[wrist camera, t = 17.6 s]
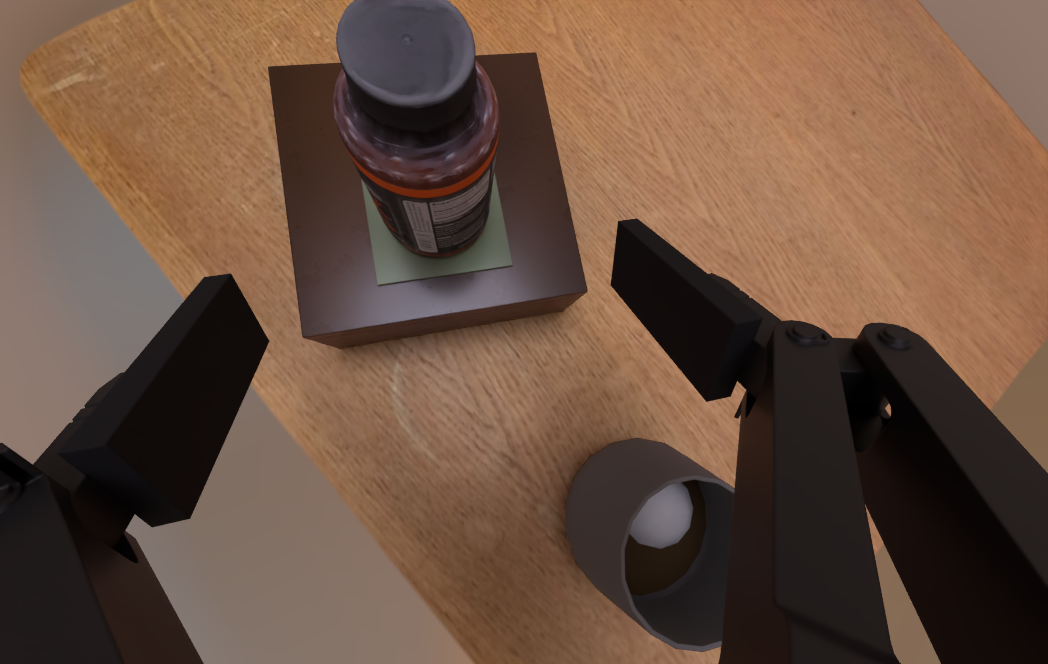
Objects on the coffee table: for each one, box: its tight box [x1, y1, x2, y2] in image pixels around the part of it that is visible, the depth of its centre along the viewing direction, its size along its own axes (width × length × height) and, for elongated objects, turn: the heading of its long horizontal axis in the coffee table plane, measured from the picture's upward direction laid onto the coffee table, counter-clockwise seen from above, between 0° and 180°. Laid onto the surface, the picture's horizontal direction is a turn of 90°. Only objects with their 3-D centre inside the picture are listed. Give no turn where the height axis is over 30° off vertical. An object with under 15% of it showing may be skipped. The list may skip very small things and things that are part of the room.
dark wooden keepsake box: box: [268, 52, 587, 349], centre depth 26 cm, size 16×16×6 cm
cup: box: [566, 438, 735, 652], centre depth 23 cm, size 10×9×10 cm
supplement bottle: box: [333, 0, 500, 257], centre depth 17 cm, size 6×6×11 cm
